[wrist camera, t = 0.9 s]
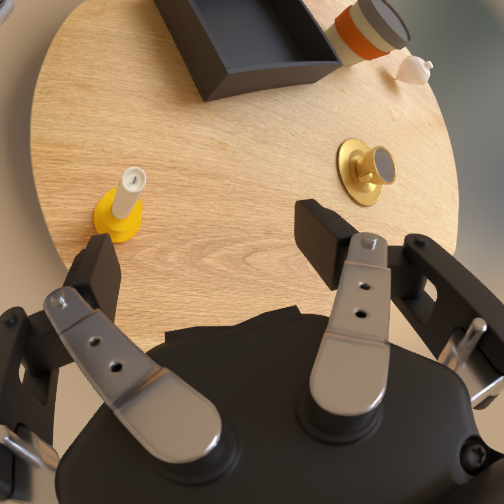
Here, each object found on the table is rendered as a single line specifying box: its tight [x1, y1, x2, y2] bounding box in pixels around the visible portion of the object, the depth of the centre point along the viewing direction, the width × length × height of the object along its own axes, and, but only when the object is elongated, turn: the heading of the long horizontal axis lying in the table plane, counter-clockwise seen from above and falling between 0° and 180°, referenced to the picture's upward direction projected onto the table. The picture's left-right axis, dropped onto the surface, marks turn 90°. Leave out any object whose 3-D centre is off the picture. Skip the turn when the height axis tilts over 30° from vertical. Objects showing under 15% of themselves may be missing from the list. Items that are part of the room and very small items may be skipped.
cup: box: [338, 138, 396, 206], centre depth 44 cm, size 12×12×5 cm
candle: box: [94, 167, 146, 243], centre depth 21 cm, size 5×5×16 cm
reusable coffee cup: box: [324, 0, 412, 66], centre depth 41 cm, size 12×13×15 cm
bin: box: [154, 0, 343, 102], centre depth 33 cm, size 22×22×7 cm
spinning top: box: [394, 56, 433, 85], centre depth 52 cm, size 8×8×12 cm
